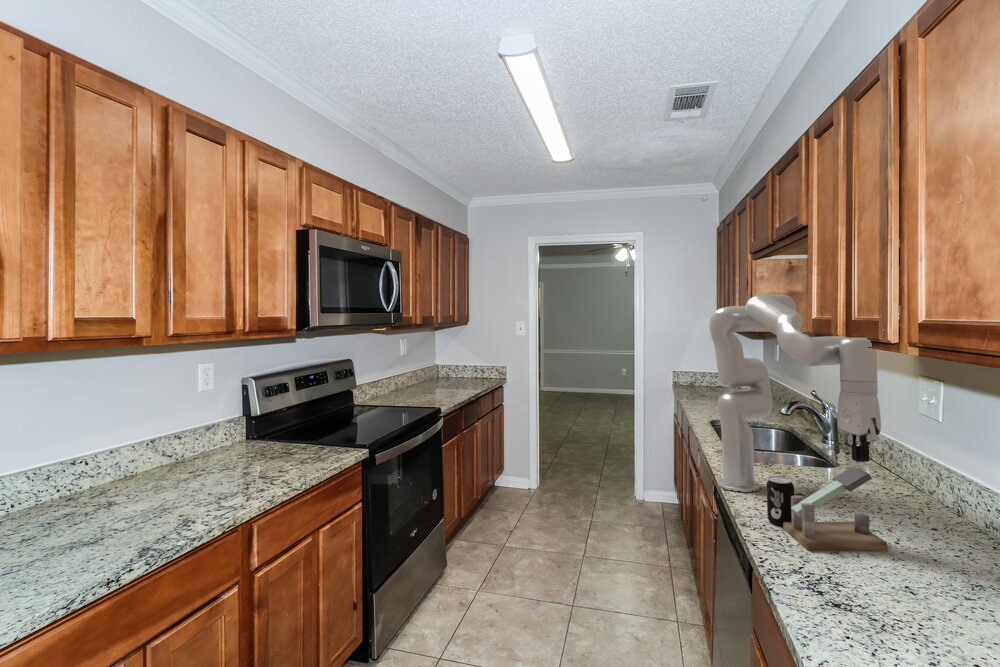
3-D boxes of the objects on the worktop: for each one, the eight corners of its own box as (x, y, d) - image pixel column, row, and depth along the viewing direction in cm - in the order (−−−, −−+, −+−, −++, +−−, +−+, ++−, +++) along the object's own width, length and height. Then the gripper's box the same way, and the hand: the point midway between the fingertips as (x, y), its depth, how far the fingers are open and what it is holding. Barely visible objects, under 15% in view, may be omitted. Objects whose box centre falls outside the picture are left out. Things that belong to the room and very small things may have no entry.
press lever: (791, 510, 127) (787, 505, 127) (856, 471, 125) (852, 465, 125) (803, 519, 121) (799, 514, 121) (872, 478, 119) (868, 473, 119)
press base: (783, 529, 130) (782, 492, 130) (855, 529, 128) (854, 491, 128) (807, 550, 118) (806, 509, 118) (887, 550, 116) (886, 509, 116)
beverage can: (799, 528, 131) (797, 483, 130) (772, 527, 132) (770, 482, 132) (789, 518, 137) (788, 475, 137) (764, 517, 138) (763, 475, 138)
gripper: (825, 384, 129) (827, 453, 130) (862, 392, 115) (864, 470, 115) (855, 383, 129) (857, 452, 129) (896, 391, 114) (898, 469, 114)
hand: (860, 460), depth 122 cm, fingers closed
